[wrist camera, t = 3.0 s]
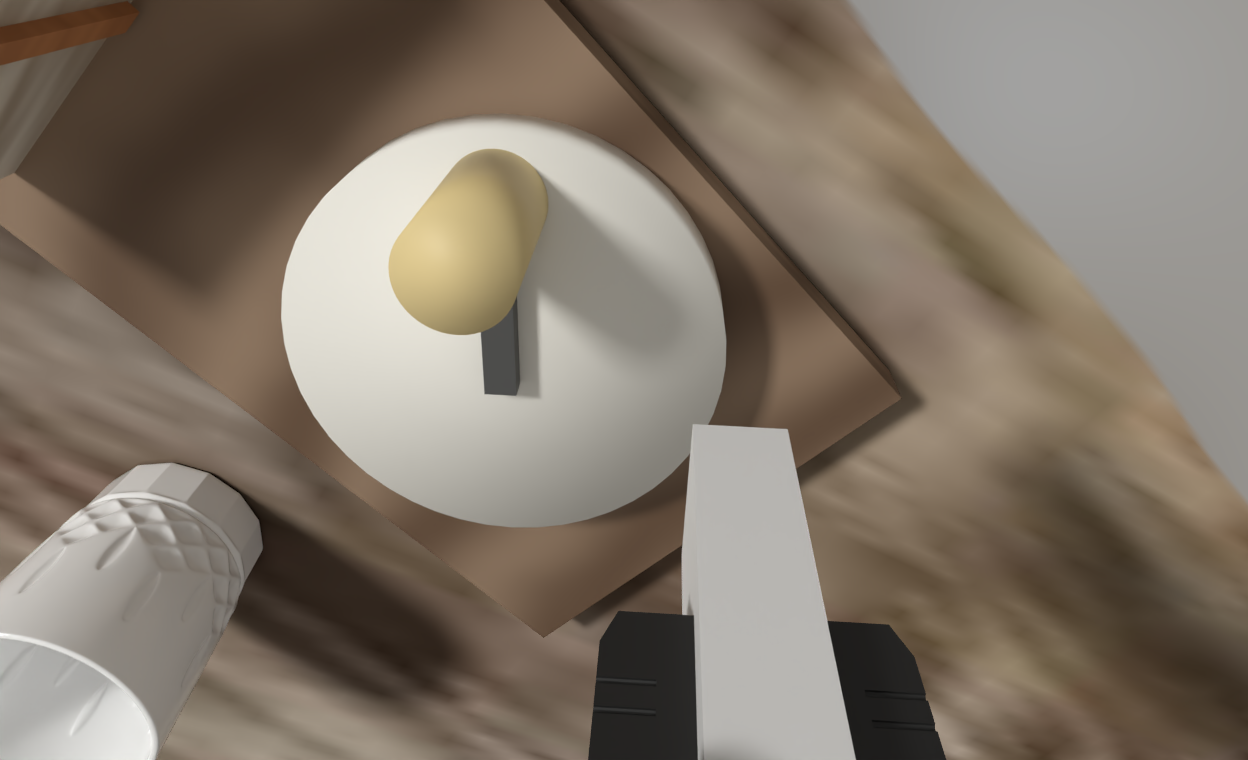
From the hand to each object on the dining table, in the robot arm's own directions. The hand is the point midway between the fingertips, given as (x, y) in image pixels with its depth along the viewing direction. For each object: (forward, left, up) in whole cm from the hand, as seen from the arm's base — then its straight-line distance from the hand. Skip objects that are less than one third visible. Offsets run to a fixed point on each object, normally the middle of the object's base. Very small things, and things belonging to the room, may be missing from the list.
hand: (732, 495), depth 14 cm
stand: (-3, +8, -16) cm, 19 cm away
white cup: (-16, +21, -17) cm, 31 cm away
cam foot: (-4, +6, -14) cm, 16 cm away
